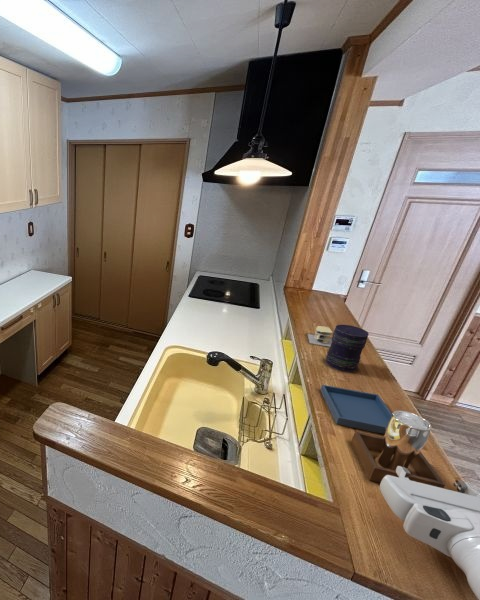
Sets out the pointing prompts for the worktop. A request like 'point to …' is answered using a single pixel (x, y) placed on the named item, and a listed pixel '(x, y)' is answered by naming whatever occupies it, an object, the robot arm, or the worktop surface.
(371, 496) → the worktop surface
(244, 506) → the worktop surface
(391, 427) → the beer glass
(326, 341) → the stacked layers on plate
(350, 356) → the navy layered cylinder
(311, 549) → the worktop surface
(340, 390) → the tray
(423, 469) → the wooden square box
